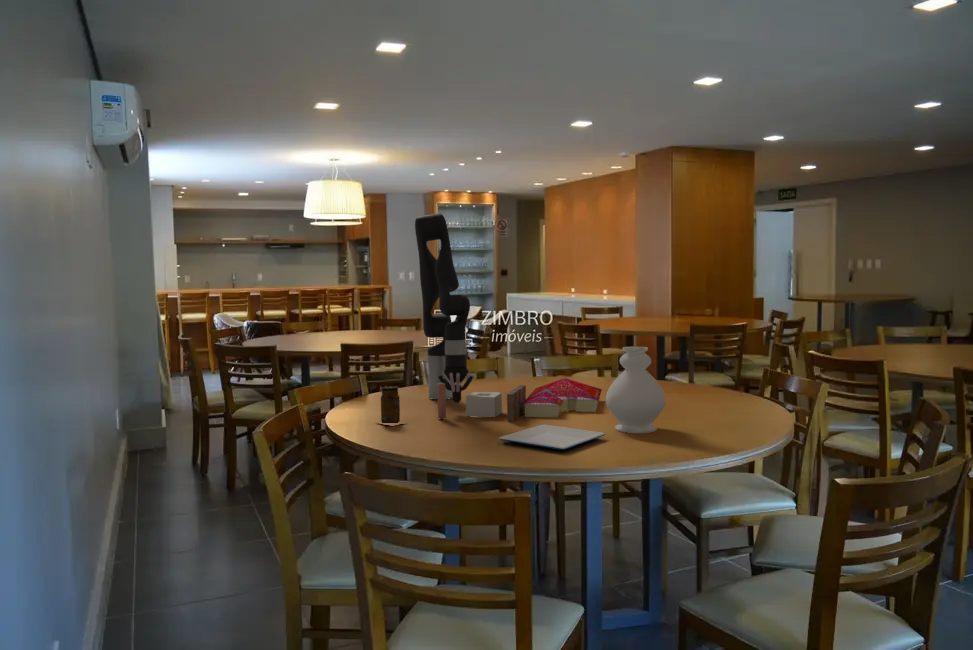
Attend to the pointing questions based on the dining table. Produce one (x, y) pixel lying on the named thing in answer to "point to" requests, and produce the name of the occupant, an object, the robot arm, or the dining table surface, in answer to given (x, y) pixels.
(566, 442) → the plate
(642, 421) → the decorative vase
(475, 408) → the block
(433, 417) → the dining table surface
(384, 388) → the condiment
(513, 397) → the wall
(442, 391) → the dowel
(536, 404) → the house model
